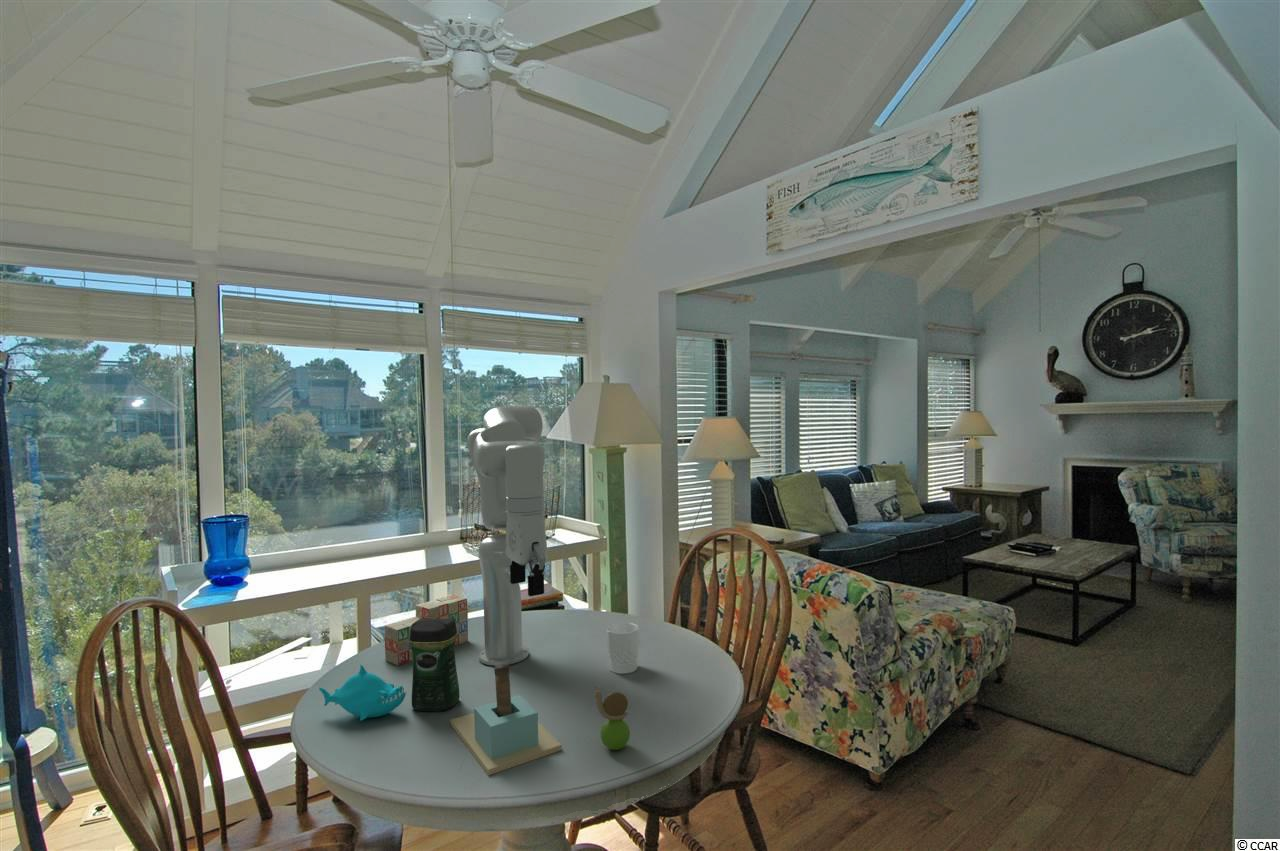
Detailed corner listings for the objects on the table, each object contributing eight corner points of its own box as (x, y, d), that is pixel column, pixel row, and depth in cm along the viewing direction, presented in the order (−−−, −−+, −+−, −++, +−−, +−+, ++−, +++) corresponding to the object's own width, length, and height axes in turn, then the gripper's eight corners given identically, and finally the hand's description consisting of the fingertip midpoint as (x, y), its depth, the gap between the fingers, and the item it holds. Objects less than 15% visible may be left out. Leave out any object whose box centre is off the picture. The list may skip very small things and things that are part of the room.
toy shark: (396, 726, 126) (395, 673, 125) (307, 728, 125) (305, 675, 125) (414, 704, 135) (412, 654, 135) (331, 706, 135) (329, 657, 135)
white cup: (641, 662, 155) (640, 622, 155) (638, 675, 147) (637, 633, 147) (610, 662, 156) (609, 622, 156) (605, 675, 148) (604, 633, 148)
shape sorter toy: (450, 724, 126) (449, 690, 125) (516, 705, 133) (515, 673, 133) (488, 775, 107) (487, 735, 107) (561, 749, 115) (560, 712, 115)
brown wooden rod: (496, 740, 117) (492, 666, 117) (510, 736, 118) (505, 662, 118) (501, 746, 115) (497, 670, 115) (515, 741, 116) (511, 666, 116)
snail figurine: (595, 741, 118) (593, 678, 117) (629, 739, 118) (627, 676, 118) (595, 757, 112) (593, 691, 112) (631, 754, 113) (629, 689, 112)
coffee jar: (464, 696, 138) (461, 613, 138) (450, 713, 130) (447, 625, 130) (422, 696, 139) (419, 613, 139) (405, 712, 131) (403, 625, 131)
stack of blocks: (398, 666, 157) (396, 617, 157) (384, 660, 161) (383, 613, 161) (468, 641, 174) (467, 597, 173) (455, 636, 177) (454, 593, 177)
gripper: (492, 501, 131) (494, 581, 132) (523, 513, 116) (525, 603, 117) (526, 497, 135) (528, 575, 136) (560, 509, 120) (561, 596, 121)
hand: (526, 588), depth 126 cm, fingers open, 9 cm apart
